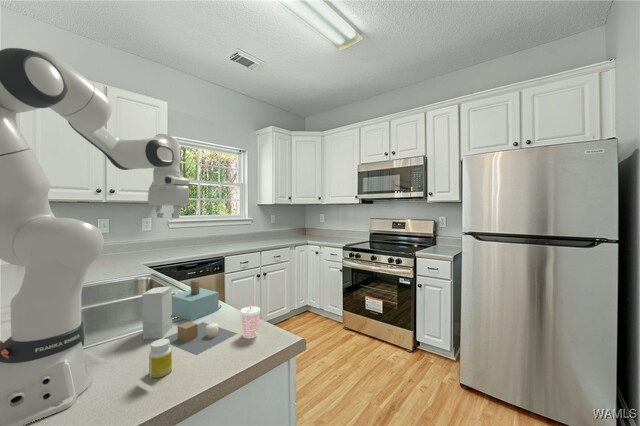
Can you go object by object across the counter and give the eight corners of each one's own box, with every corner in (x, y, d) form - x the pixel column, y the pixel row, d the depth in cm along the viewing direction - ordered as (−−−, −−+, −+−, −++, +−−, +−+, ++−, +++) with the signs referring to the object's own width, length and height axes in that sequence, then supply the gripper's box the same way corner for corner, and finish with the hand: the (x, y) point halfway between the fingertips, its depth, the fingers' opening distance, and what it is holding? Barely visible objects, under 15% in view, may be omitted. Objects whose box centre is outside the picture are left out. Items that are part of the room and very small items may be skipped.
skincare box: (162, 341, 86) (162, 293, 85) (141, 342, 85) (141, 294, 84) (173, 329, 94) (172, 285, 94) (153, 330, 93) (153, 286, 93)
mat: (196, 358, 76) (196, 340, 76) (160, 343, 84) (160, 326, 84) (237, 336, 89) (237, 321, 89) (202, 324, 97) (202, 310, 97)
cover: (191, 323, 98) (190, 287, 98) (170, 316, 104) (170, 282, 104) (218, 312, 109) (218, 279, 108) (198, 306, 115) (198, 275, 114)
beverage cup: (236, 341, 86) (236, 296, 86) (246, 332, 92) (246, 290, 92) (254, 343, 84) (254, 297, 84) (263, 334, 90) (263, 291, 90)
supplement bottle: (175, 375, 69) (175, 341, 68) (155, 385, 65) (155, 349, 64) (165, 368, 71) (165, 336, 71) (145, 377, 67) (145, 343, 67)
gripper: (142, 180, 105) (143, 217, 105) (175, 178, 95) (176, 219, 95) (159, 182, 110) (159, 217, 111) (192, 180, 100) (192, 218, 100)
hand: (167, 218), depth 103 cm, fingers open, 8 cm apart
